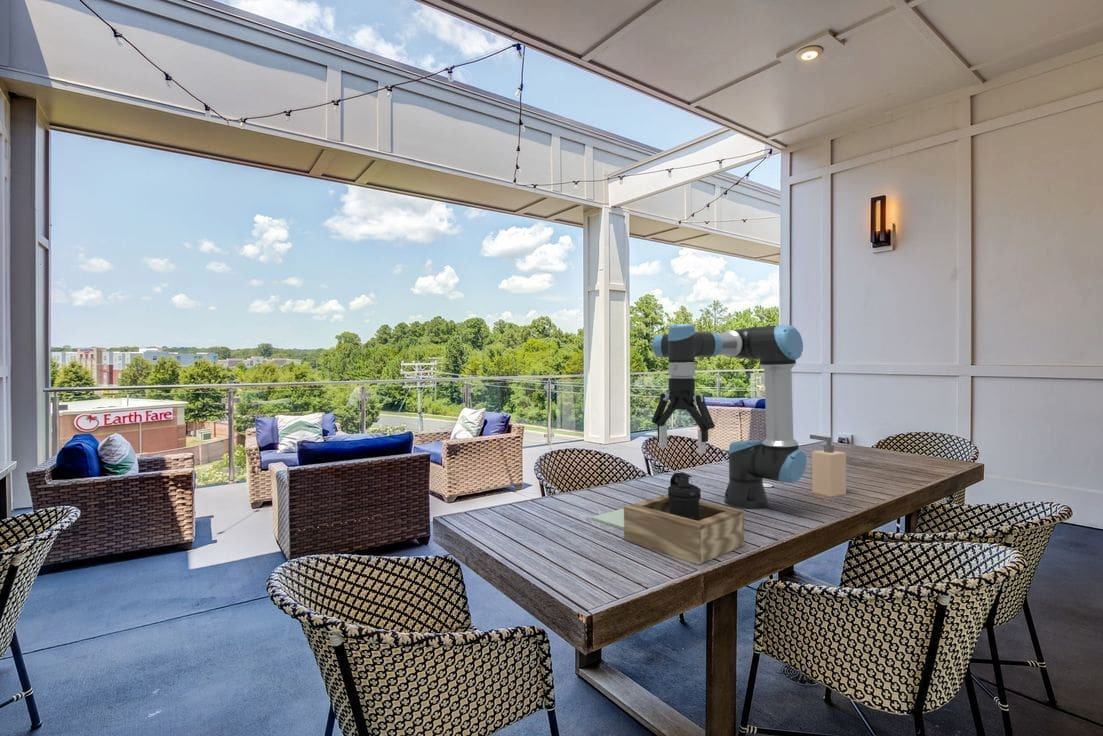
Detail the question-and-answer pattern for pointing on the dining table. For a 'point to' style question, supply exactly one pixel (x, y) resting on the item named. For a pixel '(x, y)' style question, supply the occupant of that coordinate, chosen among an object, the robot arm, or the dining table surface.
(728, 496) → the robot arm
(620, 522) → the board
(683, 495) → the black shaker bottle
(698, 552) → the crate
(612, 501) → the dining table surface
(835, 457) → the soap dispenser
